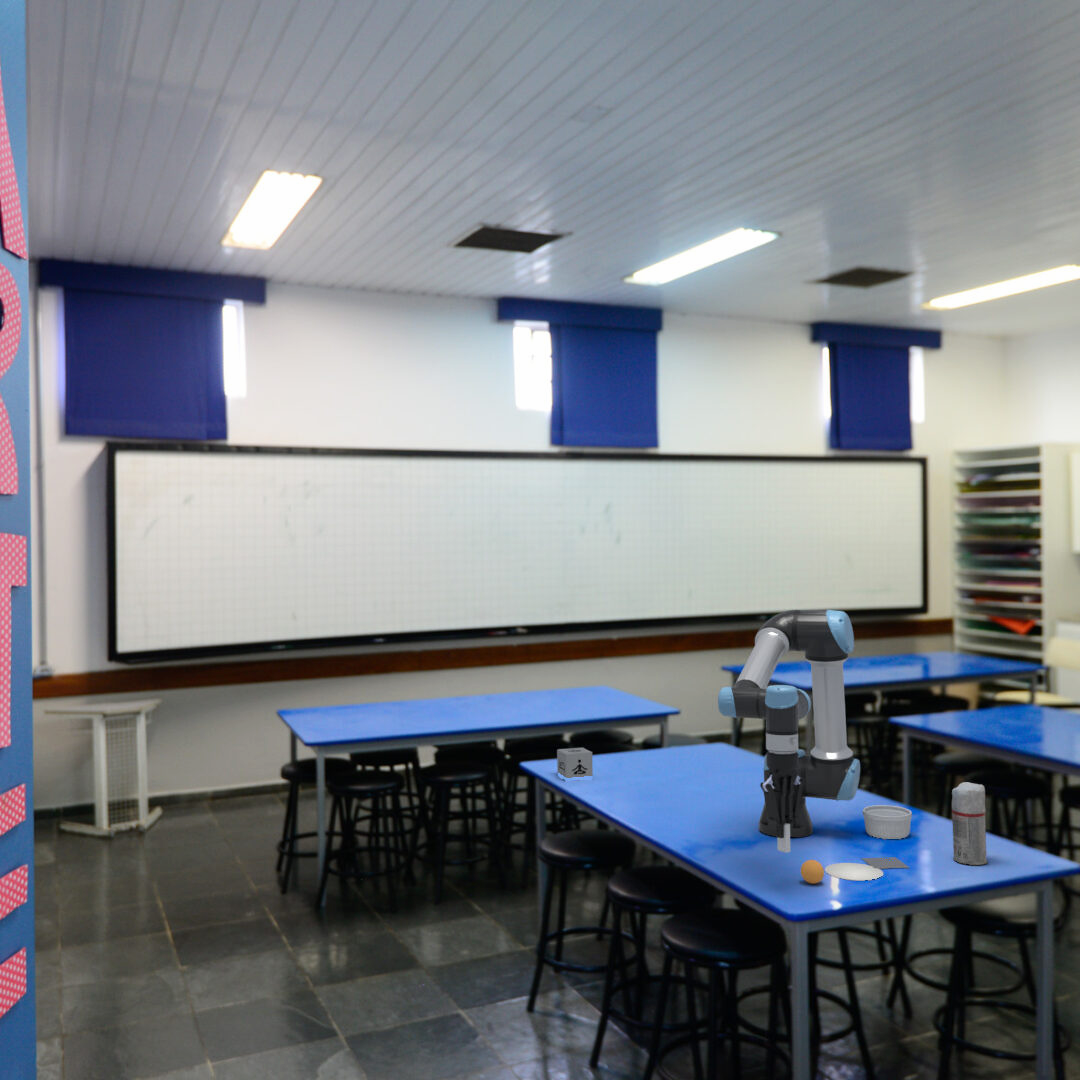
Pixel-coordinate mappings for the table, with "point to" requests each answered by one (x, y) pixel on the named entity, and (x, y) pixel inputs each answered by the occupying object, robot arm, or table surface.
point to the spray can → (969, 824)
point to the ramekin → (887, 821)
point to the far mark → (885, 863)
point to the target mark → (853, 871)
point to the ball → (812, 871)
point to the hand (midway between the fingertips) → (783, 850)
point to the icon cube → (574, 762)
